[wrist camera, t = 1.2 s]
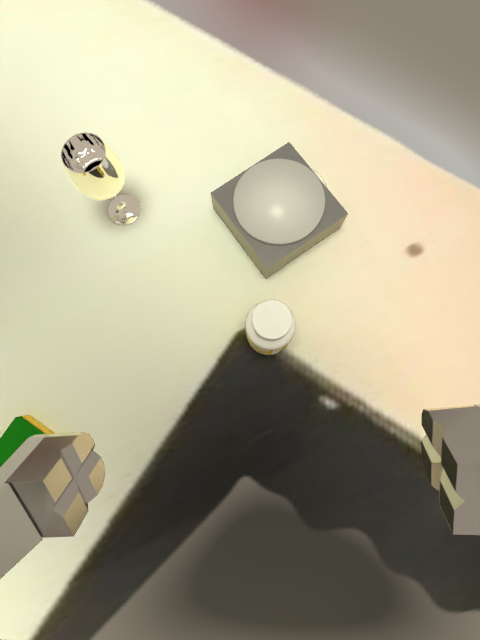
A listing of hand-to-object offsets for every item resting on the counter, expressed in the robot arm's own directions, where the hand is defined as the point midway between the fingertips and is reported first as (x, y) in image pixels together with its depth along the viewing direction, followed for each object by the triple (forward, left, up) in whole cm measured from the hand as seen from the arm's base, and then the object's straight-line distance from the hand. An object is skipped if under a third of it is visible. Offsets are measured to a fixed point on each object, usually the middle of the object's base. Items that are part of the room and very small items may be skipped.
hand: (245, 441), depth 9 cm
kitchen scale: (-17, +16, -35) cm, 42 cm away
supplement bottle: (-5, +6, -35) cm, 36 cm away
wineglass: (-30, 0, -35) cm, 46 cm away
